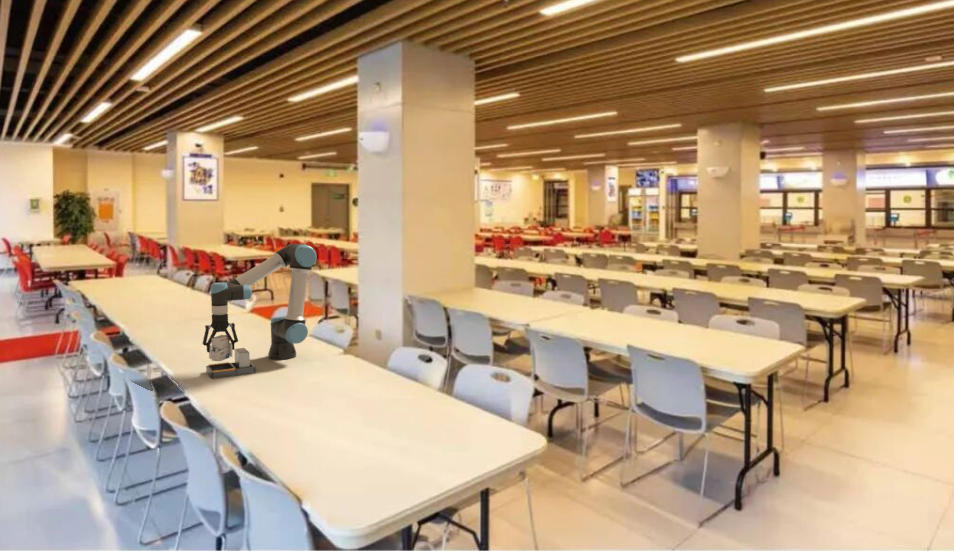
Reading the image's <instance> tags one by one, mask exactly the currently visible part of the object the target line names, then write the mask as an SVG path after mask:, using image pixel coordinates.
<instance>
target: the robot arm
mask: <svg viewBox="0 0 954 551" xmlns="http://www.w3.org/2000/svg"><path fill="white" fill-rule="evenodd" d="M316 261H317V252H316V250H315V249H314V248H313V247H312V246H310V245H307V244H301V243H299V244H298V243H291V244H287V245H286V246H284V247H282V248H281V249H279V250H277V251H275V252H274V253H273V256H271V257H269V258H267V259H266V260H264V261H262V262H260V263H259V264H257V265H256V266H254V267H252V268H251V269H248V270H247V271H245V272H244V273H242V274H241V275H239V276H237V277H235V278H233V279H232V280H230V281H225V282H214V283H212V284H211V285H210V286H211V287H210V296H211V297H210V300H211V301H210V302H211V324H208V325H207V324H206V325H204V328H205V331H204V336H203V340H202V345H203V346H205V347H206V352H207V353H208V359H210V360H212V338H214V337H216V335H217V333H222V332H223V333H225V335H227V336H228V338H229V340H230V358H231V357H232V358H233V351H234V349H235V344H236V343H238V342H239V339H238V335H237V332H236V324H235V323H234V322H232V323H231V322H229V314H228V313H229V309H228V308H229V303H228V302H232V301H233V302H234V301H245V300H250V299H251V298H252V296H253V290H252V287H251V286H252V285H254V284H256V283H258V282H259V281H261V280H262V279H264V278H266V277H268V276H269V275H271V274H273V273H274V272H276V271H277V270H279V269H281V268H282V269H284V268H286V267H289V269H290V271H291V279H290V286H289V294H288V303H287V313H286V315H284V316H283V315H282V316H274V317H272V318H271V320H270V339H271V340H270V342H271V343H270V348H269V350H268V359H270V360H280V361H281V360H290V359H293V358H296V357H297V351H296V348H295V344H301V343H302V342H304V341H305V340H306V338H307V337H308V334H309V330H308V327H307V325H306V321H307V320H306V318H305V316H304V313H305V303H306V294H307V286H308V277H309V273H310V272H311V271H312V267H313V265H314V264H316ZM229 327H230V329H231V332H232V336H233V337H232V336H231V334H230V333H229V331H228V328H229ZM211 328H212V333H211V334H210V336H209V332H210V330H211ZM208 336H209V338H208Z"/></svg>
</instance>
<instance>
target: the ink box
mask: <svg viewBox="0 0 954 551" xmlns="http://www.w3.org/2000/svg"><path fill="white" fill-rule="evenodd" d="M230 343H231V341H230V340H229V338H228V336H227V335H226V334H220V335H218V336H217V335H216V336H214V338H212V342H211V346H212V359H211V361H213V362H222V361H224V360H227V359H229V358H231V356H230Z"/></svg>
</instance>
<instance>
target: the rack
mask: <svg viewBox="0 0 954 551" xmlns="http://www.w3.org/2000/svg"><path fill="white" fill-rule="evenodd" d="M233 352H234V361H233V362H229V361H228V362H218V363H212V364H210V363H209V364H208V365H206V373H207V375H208V376H209V378H210V380H214V379H221V378H223V379H224V378H228V377H230V378H231V377H236V376H244V375H252V374H256V373H257V371H256V370H257V368H256V365H254V364H253V363H252V362H251V361H250V351H249V350H247V349H246V348H245V347H241V348H234V350H233Z"/></svg>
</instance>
